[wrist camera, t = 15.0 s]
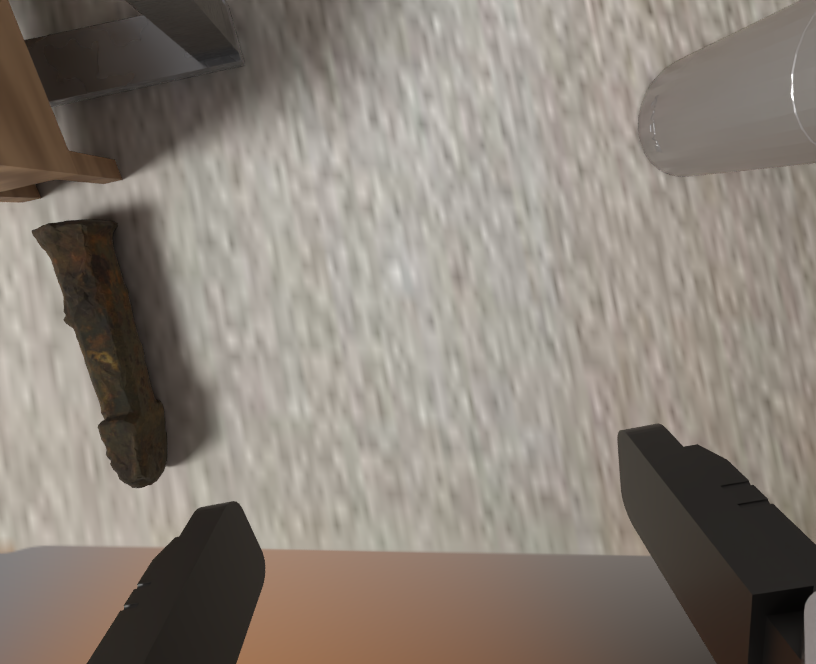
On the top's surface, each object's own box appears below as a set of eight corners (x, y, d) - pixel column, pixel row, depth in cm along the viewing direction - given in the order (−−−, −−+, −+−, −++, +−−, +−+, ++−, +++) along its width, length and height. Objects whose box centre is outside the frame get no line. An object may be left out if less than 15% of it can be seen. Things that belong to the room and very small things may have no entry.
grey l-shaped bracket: (228, 5, 33) (127, -137, 19) (245, 65, 34) (160, -30, 20) (-56, 65, 33) (-359, -36, 19) (-29, 124, 34) (-299, 68, 20)
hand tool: (62, 221, 36) (7, 224, 31) (123, 217, 36) (79, 218, 31) (130, 469, 42) (94, 507, 37) (182, 464, 42) (154, 501, 37)
